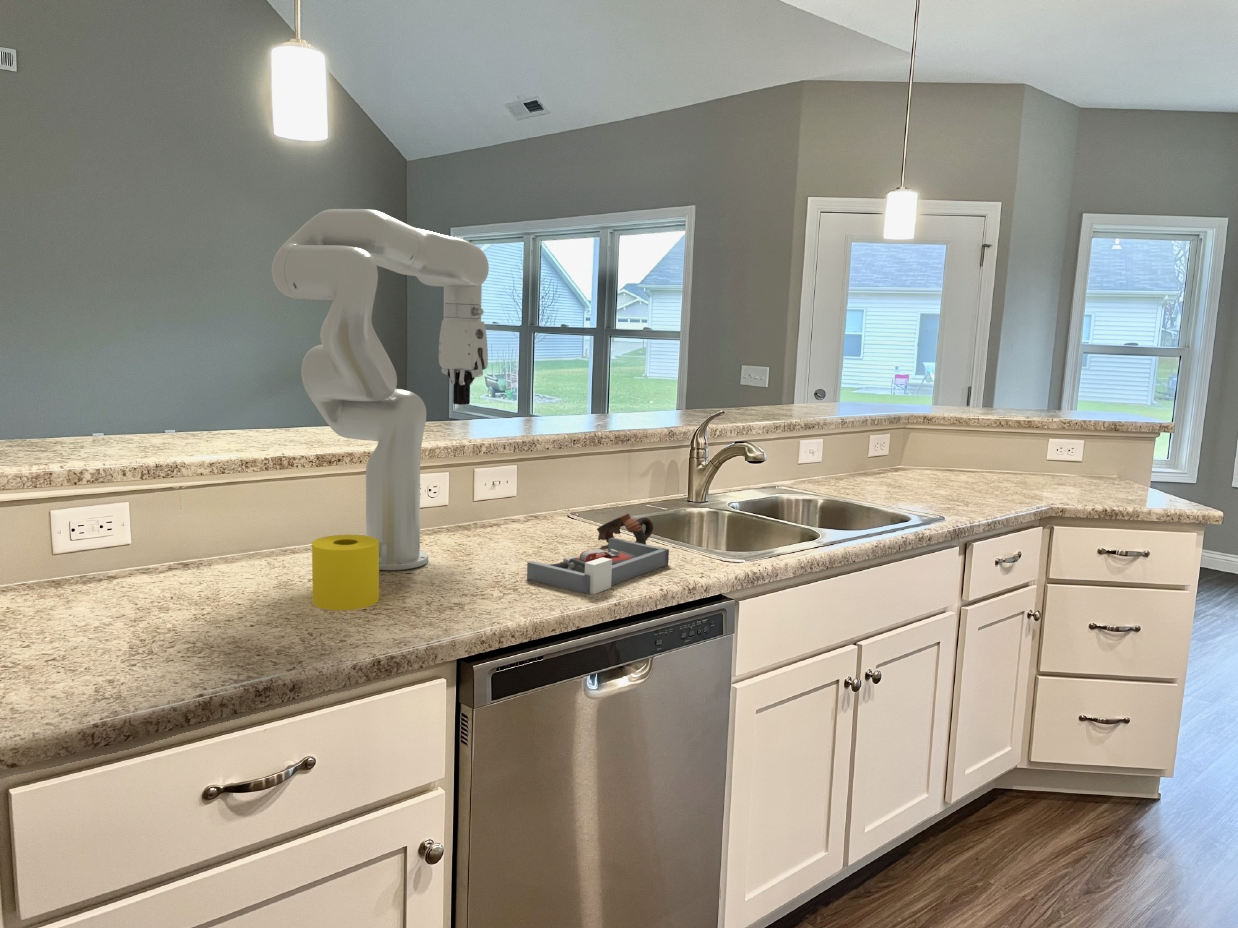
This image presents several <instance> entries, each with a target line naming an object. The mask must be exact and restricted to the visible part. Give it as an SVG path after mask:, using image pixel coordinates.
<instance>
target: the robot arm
mask: <svg viewBox="0 0 1238 928" xmlns="http://www.w3.org/2000/svg"><path fill="white" fill-rule="evenodd" d="M378 267H381V268H384V269H387V270H388V271H392V272H394V273H397V274H400V275H406V276H410V277H411V276H412V277H416V278H417V279H418V280H419V282H421V283H422V284H424V285H425V286H430V287H443V319H442V321H441V324H440V325H441V326H440V331H439V341H438V363H439V366H440V367H441V368H440V369H441V372H440V373H441V374H444V375H446V376H447V377H448V378H449V379H450V384H451V385H453V386H452V387H453V388H452V389H453V390H452V403H453V405H459V406H462V405H470V403H471V400H470V399H471V386H472V385H473V383H474V380H475V379H476V378H479V377H482V376H483V375H484V370H486V369H487V368H488V364H489V361H488V360H489V353H488V337H487V329H486V324H485V321H483V320H482V316H483V315H484V309H483V308H482V294H483V293H482V291H483V290H482V285H483V284H484V282H485V281H486V280H487V278H488V275H489V267H490V265H489V260H488V258H487V255H486V254H485V252H484V251H483V249H481V247H479V246H477V245H475V244H473V243H471V242H469V241H467V240H465V239H462V238H458V237H454V236H449V235H446V234H440V233H437V232H433V231H430V230H425V229H422V228H416V227H413V226H411V225H410V224H407V223H405V222H403V221H401V220H398V219H397V218H394V217H392V216H390V215H388V214H386V213H385V212H381V211H380V210H376V209H368V208H367V209H366V208H364V209H363V208H354V209H353V208H337V209H336V208H330V209H325V210H322V211H320V212H318V213H317V214H315V215H314V216H313V217H311V218H310V219H308V221H306V222H305V223H303V225H302V226H301V227H300V228H299V229H298V230H296V231H295V233H293V234H292V235H291V236H290V237H289V238H288V239H287V240H286V241H285V242H284V243H283V244H282V245H281V247H279V248H278V249H277V252H276V254H275V255H274V258H273V260H272V265H271V277H272V280H273V283H274V285H275V287H276V288H277V289H278V290H279V292H280V293H281V294H283V295H285V296H286V297H288V298H292V299H296V300H297V299H298V300H316V301H317V300H320V301H322V300H323V301H332V302H331V305H330V308H329V310H328V313H327V315H326V317H325V319H324V320H323V323H322V325H321V327H320V333H319V337H320V342H321V344H318V345H315V346H314V347H312V348H310V349H309V350H307V352H306V354H305V355H304V357H303V359H302V361H301V362H302V363H301V371H300V372H301V379H302V380H301V381H302V384H303V387H304V390H305V392H306V394H307V395H308V397H309V399H310V400H311V402H312V403H313V404H314V406H315V407H316V409H317V410H318V412H319V413H320V415H321V417H322V418H323V419H324V421H325V422H326V423H327V425H328V426H329V427H330V429H331V430H332V431H333V432H334V433H335V434H337V435H338V436H340V437H343V438H345V439H351V440H360V441H372V442H377V445H376V446H375V448H374V450H373V452H372V453H371V455H370V456H369V458H368V460H367V462H366V467H365V527H366V528H365V536H370V537H374V538H376V539H378V540H379V571H403V570H411V569H416V568H419V567H420V568H421V567H422V566H424V565H426V564H427V563H428V562H429V554H428V552H426V551H423V550H421V546H420V545H421V456H422V444H423V438H424V433H425V427H426V422H427V407H426V404H425V402H424V400H423V399H422V398H421V396H419V395H418V394H416V393H414V392H412V391H410V390H405V389H402V388H397V385H398V376H397V372H396V369H395V367H394V365H393V363H392V360H391V359H390V357H389V355H388V353H387V352H386V349H385V347H384V346H383V343H381V341H380V339H379V337H378V334H377V333H376V331H375V329H374V326H373V323H372V314H373V309H374V308H373V307H374V302H375V297H376V294H377V293H376V292H377V287H378V282H379V281H378V280H379V272H378Z"/></svg>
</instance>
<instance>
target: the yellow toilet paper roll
mask: <svg viewBox="0 0 1238 928" xmlns="http://www.w3.org/2000/svg"><path fill="white" fill-rule="evenodd" d="M311 568H312V569H311V572H312V573H311V574H312V579H311V580H312V582H311V583H312V586H311V587H312V604H313V606H315V607H317V608H319V609H323V610H327V611H328V610H329V611H352V610H353V611H354V610H360V609H366V608H368V607H370V606H373V605H375V604H377V603H378V602H379V601H380V600H379V599H380V570H379V540H378V539H376V538H374V537H370V536H366V535H362V534H336V535H327V536H323V537H320V538H317V539H314V540H313V541H312V542H311Z"/></svg>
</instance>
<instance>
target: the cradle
mask: <svg viewBox="0 0 1238 928" xmlns="http://www.w3.org/2000/svg"><path fill="white" fill-rule="evenodd" d="M607 544H608V546H607V552H608V553H609V552H611V551H610V549H614V550H617V551H623V552H626V553H629V554H632V555H634V556H636V558H633V559H630V560H627V561H624V562H621V563H618V564H615V565H612V559H608V558H604V557H602V558H599V559H596V560H592V561H589V562H586V563H585V573H581V572H576V571H572V570H568V569H564V568H559V567H555V566H551V565H550V564H546V563H543V562H539V561H533V560H530V561H528V562H527V565H526V579H527V580H529V581H530V580H531V581H533V582H539V583H542V584H545V585H550V586H553V585H554V586H553V587H557V588H561V589H566V590H570V591H573V590H574V592H578V593H581V594H586V595H589V594H592V595H595V594H597V593H600V592H603V591H607V590H609V589H611V588H612V586H613V585H614V586H615V585H616V584H619V583H622V582H624V581H628V580H630V579H634V578H635V577H637V576H641V575H644V574H648V573H649V572H652V571H655V570H657V569H660V568H663V567H666V566H669V561H670V560H669V559H670V556H669V555H670V549H669V548H665V547H659V546H654V545H651V544H646V545H645V544H641V543H636V542H635V541H631V540H630V541H629V540H625V539H620V538H615V537H614V538H609V541H608V542H607Z"/></svg>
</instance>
